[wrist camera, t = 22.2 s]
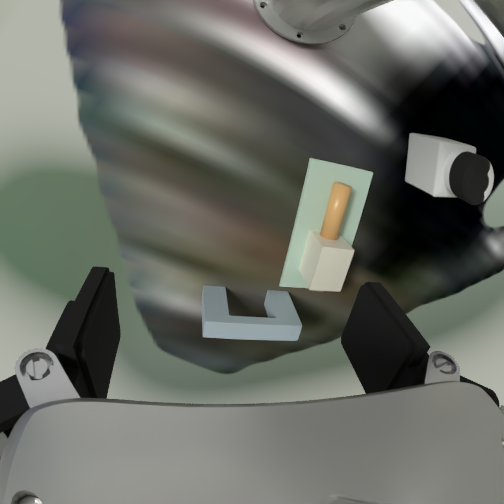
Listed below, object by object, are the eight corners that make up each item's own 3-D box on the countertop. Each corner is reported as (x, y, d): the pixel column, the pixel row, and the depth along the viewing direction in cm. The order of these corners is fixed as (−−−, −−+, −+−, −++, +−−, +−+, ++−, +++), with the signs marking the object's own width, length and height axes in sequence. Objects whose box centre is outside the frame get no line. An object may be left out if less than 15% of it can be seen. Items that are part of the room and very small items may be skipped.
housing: (203, 285, 43) (204, 321, 36) (287, 291, 46) (302, 325, 39) (201, 300, 44) (202, 337, 37) (283, 305, 47) (297, 340, 40)
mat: (310, 157, 37) (311, 158, 37) (371, 171, 39) (373, 172, 39) (279, 284, 45) (279, 286, 44) (335, 288, 47) (336, 289, 46)
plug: (322, 178, 38) (338, 189, 34) (353, 184, 39) (371, 196, 35) (297, 275, 44) (307, 295, 40) (325, 277, 45) (338, 297, 41)
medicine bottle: (403, 181, 40) (458, 211, 30) (408, 132, 37) (468, 149, 27) (439, 183, 41) (493, 211, 31) (444, 137, 38) (503, 156, 28)
